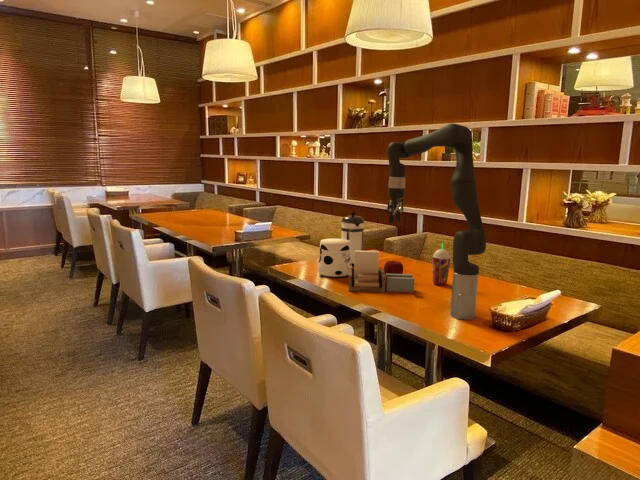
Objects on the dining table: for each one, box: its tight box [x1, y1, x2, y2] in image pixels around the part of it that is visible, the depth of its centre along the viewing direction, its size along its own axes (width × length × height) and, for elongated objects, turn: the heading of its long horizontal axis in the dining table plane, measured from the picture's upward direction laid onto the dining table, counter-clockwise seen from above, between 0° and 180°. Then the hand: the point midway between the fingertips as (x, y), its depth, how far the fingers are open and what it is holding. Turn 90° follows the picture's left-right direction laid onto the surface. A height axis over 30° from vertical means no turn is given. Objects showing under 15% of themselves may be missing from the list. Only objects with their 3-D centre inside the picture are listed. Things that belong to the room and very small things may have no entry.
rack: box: [348, 267, 386, 293], centre depth 206 cm, size 14×16×8 cm
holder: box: [385, 273, 415, 295], centre depth 205 cm, size 8×12×7 cm, turn 87°
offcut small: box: [357, 273, 379, 283], centre depth 204 cm, size 5×9×3 cm, turn 91°
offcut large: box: [354, 279, 379, 287], centre depth 204 cm, size 6×11×4 cm, turn 87°
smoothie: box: [432, 242, 452, 287], centre depth 216 cm, size 8×8×20 cm
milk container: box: [317, 238, 353, 279], centre depth 228 cm, size 17×17×18 cm
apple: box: [383, 259, 404, 277], centre depth 222 cm, size 10×10×10 cm
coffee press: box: [340, 210, 365, 265], centre depth 254 cm, size 17×16×30 cm
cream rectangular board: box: [353, 250, 380, 279], centre depth 209 cm, size 2×11×16 cm, turn 87°
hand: (394, 222), depth 208 cm, fingers open, 8 cm apart
